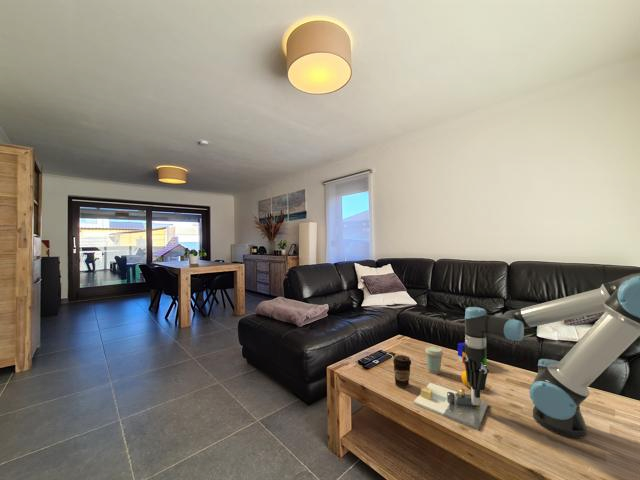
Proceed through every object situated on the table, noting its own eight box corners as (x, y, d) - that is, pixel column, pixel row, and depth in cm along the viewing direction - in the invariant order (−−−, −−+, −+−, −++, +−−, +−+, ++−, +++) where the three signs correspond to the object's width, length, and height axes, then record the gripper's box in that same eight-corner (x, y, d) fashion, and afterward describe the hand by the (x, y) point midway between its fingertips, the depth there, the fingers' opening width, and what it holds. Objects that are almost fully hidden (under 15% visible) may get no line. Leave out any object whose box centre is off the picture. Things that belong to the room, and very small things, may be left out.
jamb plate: (488, 405, 111) (488, 402, 111) (478, 430, 96) (478, 427, 96) (457, 394, 119) (457, 392, 119) (443, 416, 104) (443, 413, 104)
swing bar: (457, 404, 110) (457, 391, 110) (455, 399, 113) (455, 387, 113) (480, 406, 109) (480, 393, 109) (477, 401, 112) (477, 389, 112)
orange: (484, 390, 122) (484, 374, 122) (467, 390, 122) (467, 374, 122) (474, 381, 130) (474, 366, 130) (458, 381, 130) (458, 366, 130)
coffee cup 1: (412, 390, 122) (412, 362, 122) (393, 388, 124) (393, 361, 124) (410, 381, 130) (410, 354, 130) (392, 379, 132) (392, 353, 132)
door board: (457, 394, 119) (457, 385, 119) (443, 416, 104) (443, 405, 104) (430, 384, 127) (430, 376, 127) (413, 403, 112) (413, 394, 112)
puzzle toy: (457, 360, 153) (457, 343, 153) (471, 358, 156) (471, 341, 156) (472, 368, 144) (472, 350, 144) (486, 366, 147) (486, 348, 147)
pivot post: (455, 404, 112) (455, 393, 112) (453, 407, 110) (453, 396, 110) (448, 401, 114) (448, 391, 114) (446, 404, 112) (446, 393, 112)
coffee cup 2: (441, 377, 134) (441, 353, 135) (423, 372, 139) (423, 349, 139) (443, 370, 142) (443, 347, 142) (426, 366, 146) (426, 344, 146)
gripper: (457, 340, 115) (457, 395, 114) (477, 352, 102) (477, 414, 101) (473, 340, 115) (473, 394, 115) (495, 351, 102) (495, 413, 102)
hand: (475, 403), depth 108 cm, fingers closed
